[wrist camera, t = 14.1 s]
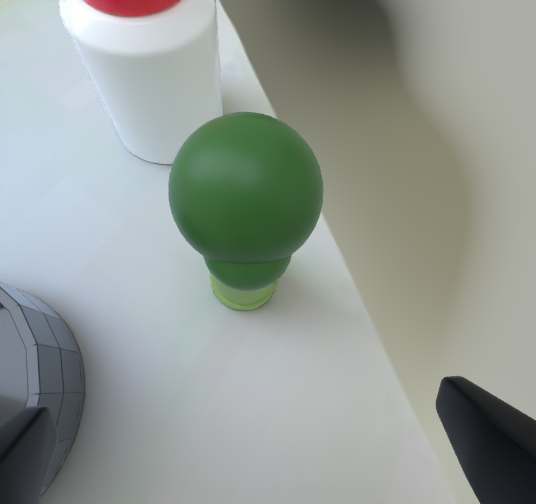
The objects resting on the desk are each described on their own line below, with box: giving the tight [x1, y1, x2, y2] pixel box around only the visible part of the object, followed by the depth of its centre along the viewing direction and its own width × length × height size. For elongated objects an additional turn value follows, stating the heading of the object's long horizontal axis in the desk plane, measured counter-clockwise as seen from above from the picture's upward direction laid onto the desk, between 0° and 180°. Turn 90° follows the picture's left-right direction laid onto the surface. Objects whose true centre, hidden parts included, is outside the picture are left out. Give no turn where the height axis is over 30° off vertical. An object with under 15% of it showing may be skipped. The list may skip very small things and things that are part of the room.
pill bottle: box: [58, 0, 223, 164], centre depth 20 cm, size 8×8×11 cm
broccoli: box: [169, 112, 323, 311], centre depth 15 cm, size 6×5×13 cm
